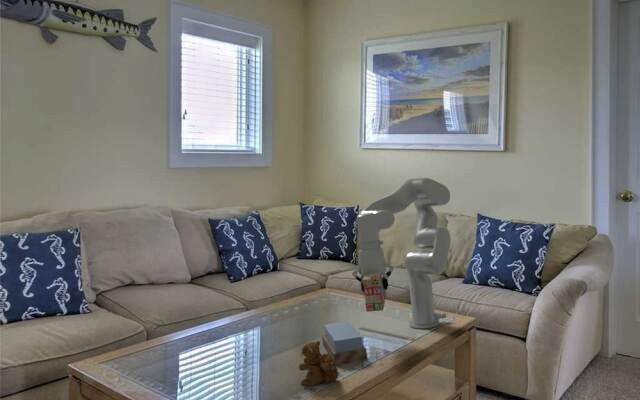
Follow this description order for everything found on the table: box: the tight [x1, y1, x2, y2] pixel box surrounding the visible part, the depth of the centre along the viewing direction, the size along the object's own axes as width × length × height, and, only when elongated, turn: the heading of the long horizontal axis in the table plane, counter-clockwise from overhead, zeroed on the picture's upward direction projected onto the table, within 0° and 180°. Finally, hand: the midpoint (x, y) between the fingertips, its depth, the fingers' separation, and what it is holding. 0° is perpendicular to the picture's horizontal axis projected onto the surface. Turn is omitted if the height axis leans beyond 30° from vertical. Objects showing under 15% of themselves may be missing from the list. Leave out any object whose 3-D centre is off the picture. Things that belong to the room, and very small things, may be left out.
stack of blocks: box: [363, 273, 387, 312], centre depth 219 cm, size 21×6×12 cm, turn 170°
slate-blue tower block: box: [323, 320, 364, 353], centre depth 218 cm, size 10×23×4 cm, turn 9°
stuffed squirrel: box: [298, 340, 340, 386], centre depth 191 cm, size 10×14×13 cm
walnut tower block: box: [321, 334, 368, 366], centre depth 218 cm, size 12×25×4 cm, turn 9°
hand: (375, 290), depth 219 cm, fingers closed on stack of blocks, 7 cm apart
